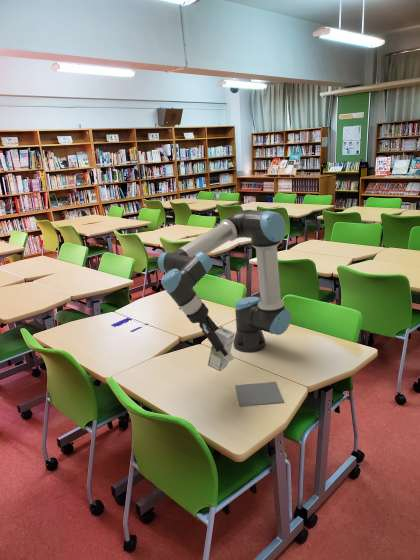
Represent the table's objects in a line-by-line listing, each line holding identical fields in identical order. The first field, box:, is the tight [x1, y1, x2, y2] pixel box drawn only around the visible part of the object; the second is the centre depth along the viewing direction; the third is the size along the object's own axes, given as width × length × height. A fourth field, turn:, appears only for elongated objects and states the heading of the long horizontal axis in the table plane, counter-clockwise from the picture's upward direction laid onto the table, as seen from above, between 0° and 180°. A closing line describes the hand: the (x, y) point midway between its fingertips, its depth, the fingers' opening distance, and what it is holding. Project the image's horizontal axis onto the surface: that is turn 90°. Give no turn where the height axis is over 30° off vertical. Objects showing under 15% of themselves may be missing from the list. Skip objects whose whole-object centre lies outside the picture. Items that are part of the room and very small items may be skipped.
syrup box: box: [207, 326, 236, 372], centre depth 153 cm, size 6×6×14 cm
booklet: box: [111, 317, 149, 333], centre depth 230 cm, size 12×25×1 cm, turn 52°
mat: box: [235, 381, 285, 407], centre depth 158 cm, size 14×16×1 cm
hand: (229, 353), depth 154 cm, fingers closed on syrup box, 8 cm apart
